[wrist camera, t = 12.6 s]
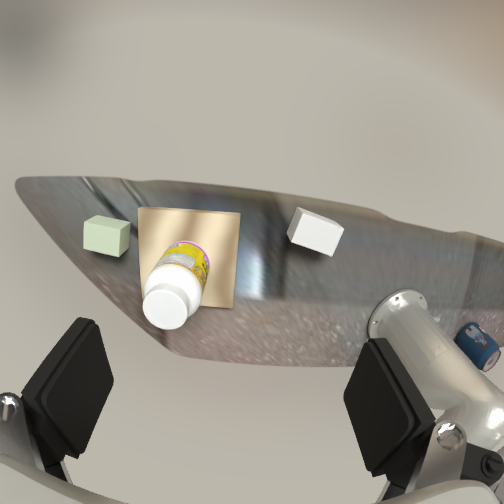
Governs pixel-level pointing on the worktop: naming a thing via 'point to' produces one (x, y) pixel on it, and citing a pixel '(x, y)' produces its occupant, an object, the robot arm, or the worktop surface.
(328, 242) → the white block
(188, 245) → the supplement bottle
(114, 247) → the green block
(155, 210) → the birch board
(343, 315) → the worktop surface
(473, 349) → the soda can
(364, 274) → the worktop surface
